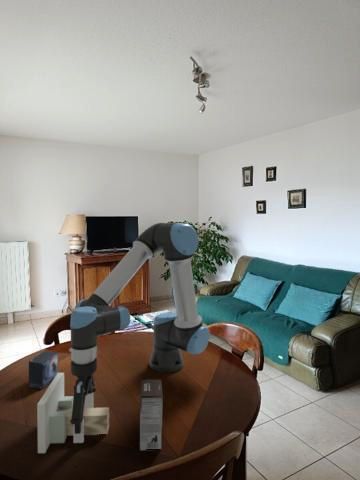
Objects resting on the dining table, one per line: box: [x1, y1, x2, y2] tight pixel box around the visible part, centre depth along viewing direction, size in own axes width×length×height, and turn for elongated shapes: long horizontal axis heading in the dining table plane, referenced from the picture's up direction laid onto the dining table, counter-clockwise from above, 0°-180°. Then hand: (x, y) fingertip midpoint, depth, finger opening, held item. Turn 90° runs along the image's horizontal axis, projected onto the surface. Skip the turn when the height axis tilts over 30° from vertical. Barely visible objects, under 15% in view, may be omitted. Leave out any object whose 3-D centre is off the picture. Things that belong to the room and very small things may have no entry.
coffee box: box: [139, 379, 163, 451], centre depth 93 cm, size 9×6×16 cm
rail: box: [56, 407, 110, 437], centre depth 96 cm, size 16×4×6 cm, turn 94°
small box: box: [27, 350, 59, 390], centre depth 125 cm, size 11×6×10 cm, turn 168°
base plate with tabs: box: [36, 372, 74, 454], centre depth 96 cm, size 6×18×14 cm, turn 4°
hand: (84, 426), depth 97 cm, fingers open, 13 cm apart
